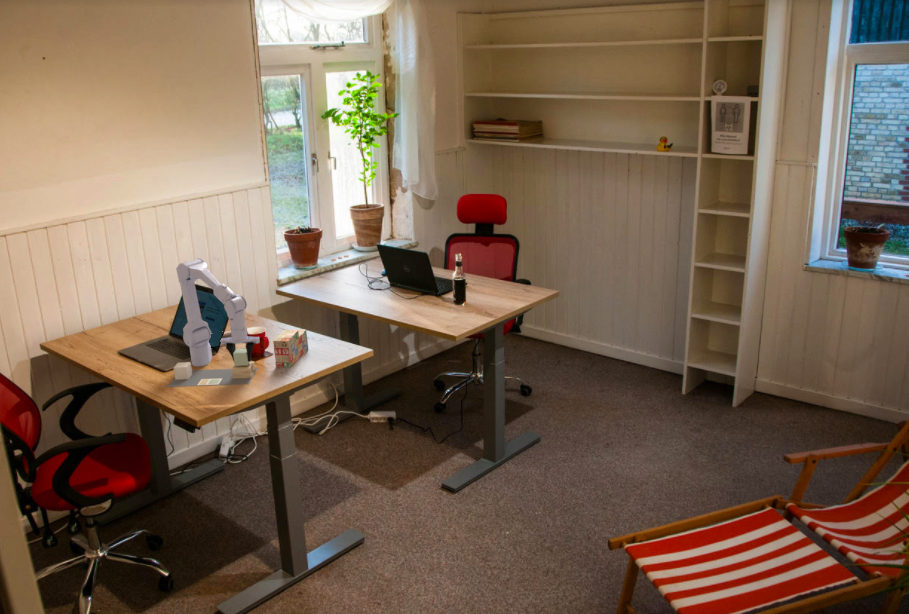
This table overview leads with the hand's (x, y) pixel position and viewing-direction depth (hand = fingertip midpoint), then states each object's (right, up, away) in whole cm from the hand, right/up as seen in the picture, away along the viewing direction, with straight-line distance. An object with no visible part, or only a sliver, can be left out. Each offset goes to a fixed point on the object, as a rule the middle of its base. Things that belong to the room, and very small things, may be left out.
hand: (242, 360), depth 301 cm
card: (-11, -8, -4) cm, 14 cm away
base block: (0, -5, +2) cm, 6 cm away
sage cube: (0, -1, 0) cm, 1 cm away
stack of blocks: (+16, -1, +18) cm, 24 cm away
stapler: (-21, +5, +40) cm, 45 cm away
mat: (-11, -7, +1) cm, 13 cm away
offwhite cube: (-23, -6, +2) cm, 24 cm away
